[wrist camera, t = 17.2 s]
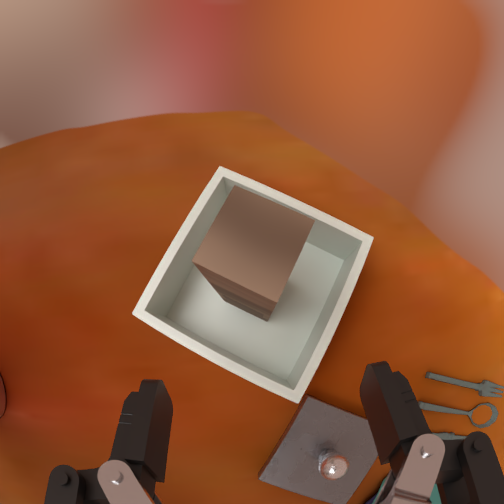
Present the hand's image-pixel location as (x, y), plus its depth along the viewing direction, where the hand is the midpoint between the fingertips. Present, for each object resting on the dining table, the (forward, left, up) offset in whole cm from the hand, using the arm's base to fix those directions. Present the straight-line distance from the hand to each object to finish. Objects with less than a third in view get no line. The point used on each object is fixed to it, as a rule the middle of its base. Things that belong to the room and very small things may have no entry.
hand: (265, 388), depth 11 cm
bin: (+6, +3, -18) cm, 19 cm away
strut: (+6, +3, -17) cm, 18 cm away
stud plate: (-6, -11, -18) cm, 22 cm away
